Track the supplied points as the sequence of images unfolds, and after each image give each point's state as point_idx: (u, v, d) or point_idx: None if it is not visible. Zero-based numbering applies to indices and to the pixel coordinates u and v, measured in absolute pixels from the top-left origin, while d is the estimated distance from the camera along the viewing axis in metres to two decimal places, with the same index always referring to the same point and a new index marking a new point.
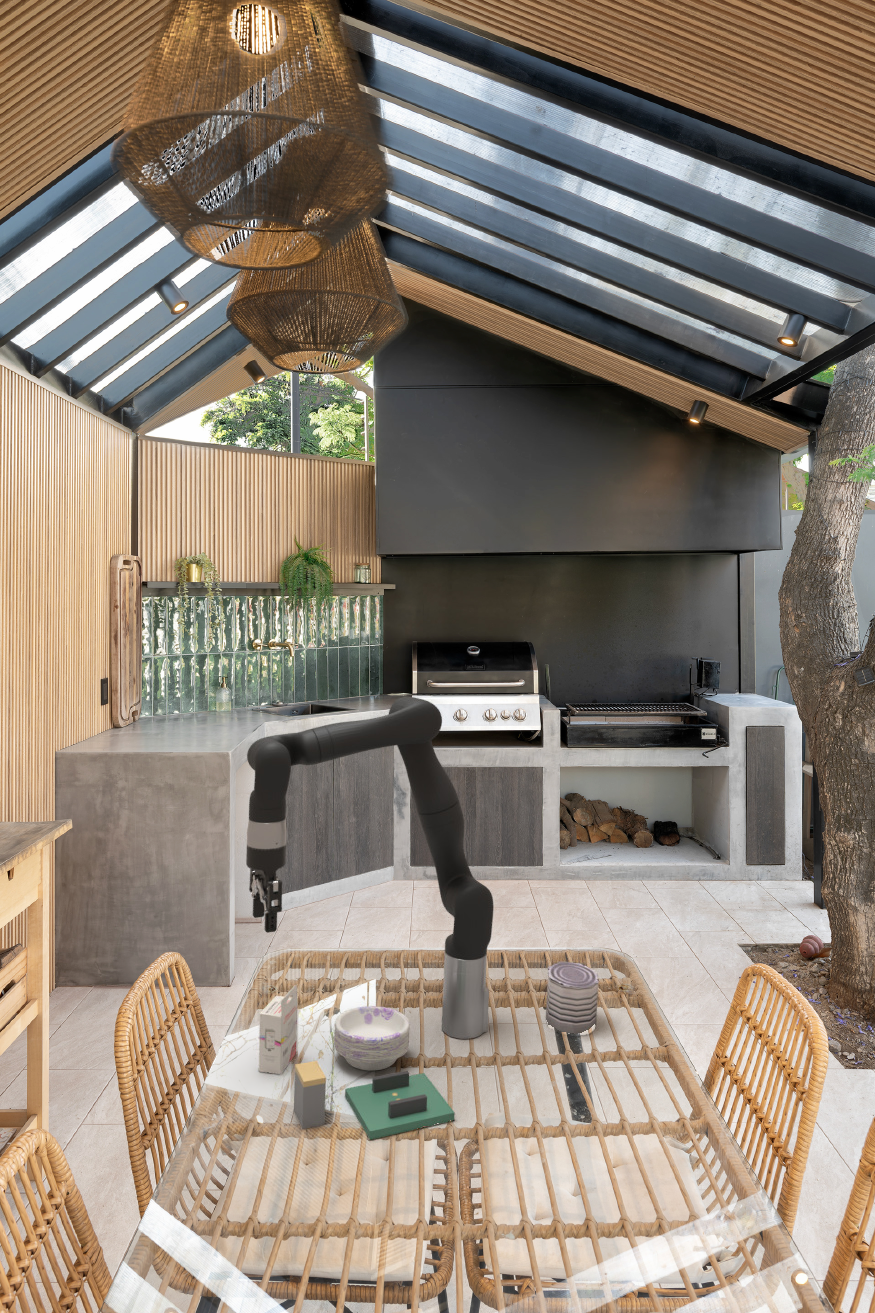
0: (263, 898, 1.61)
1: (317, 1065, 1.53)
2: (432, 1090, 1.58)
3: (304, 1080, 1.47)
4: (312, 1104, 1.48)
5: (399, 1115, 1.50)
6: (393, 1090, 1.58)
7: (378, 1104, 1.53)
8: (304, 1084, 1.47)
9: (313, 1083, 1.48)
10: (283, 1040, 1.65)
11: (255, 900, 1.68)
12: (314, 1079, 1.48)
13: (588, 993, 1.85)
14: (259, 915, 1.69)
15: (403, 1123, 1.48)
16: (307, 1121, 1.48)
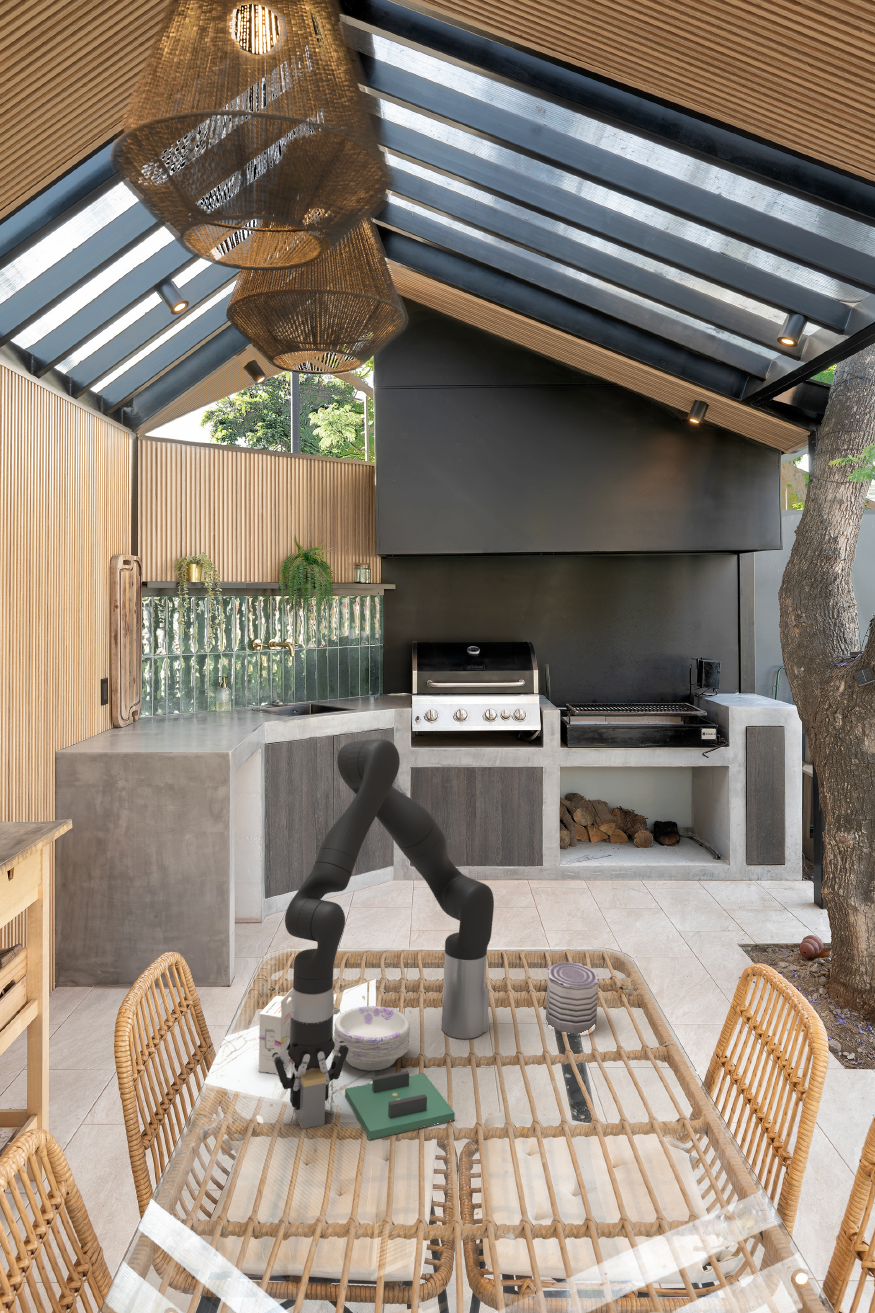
0: (327, 1070, 1.50)
1: None
2: (432, 1090, 1.58)
3: (304, 1080, 1.47)
4: (312, 1104, 1.48)
5: (399, 1115, 1.50)
6: (393, 1090, 1.58)
7: (378, 1104, 1.53)
8: (304, 1084, 1.47)
9: (313, 1083, 1.48)
10: (283, 1040, 1.65)
11: None
12: (314, 1079, 1.48)
13: (588, 993, 1.85)
14: None
15: (403, 1123, 1.48)
16: (307, 1121, 1.48)
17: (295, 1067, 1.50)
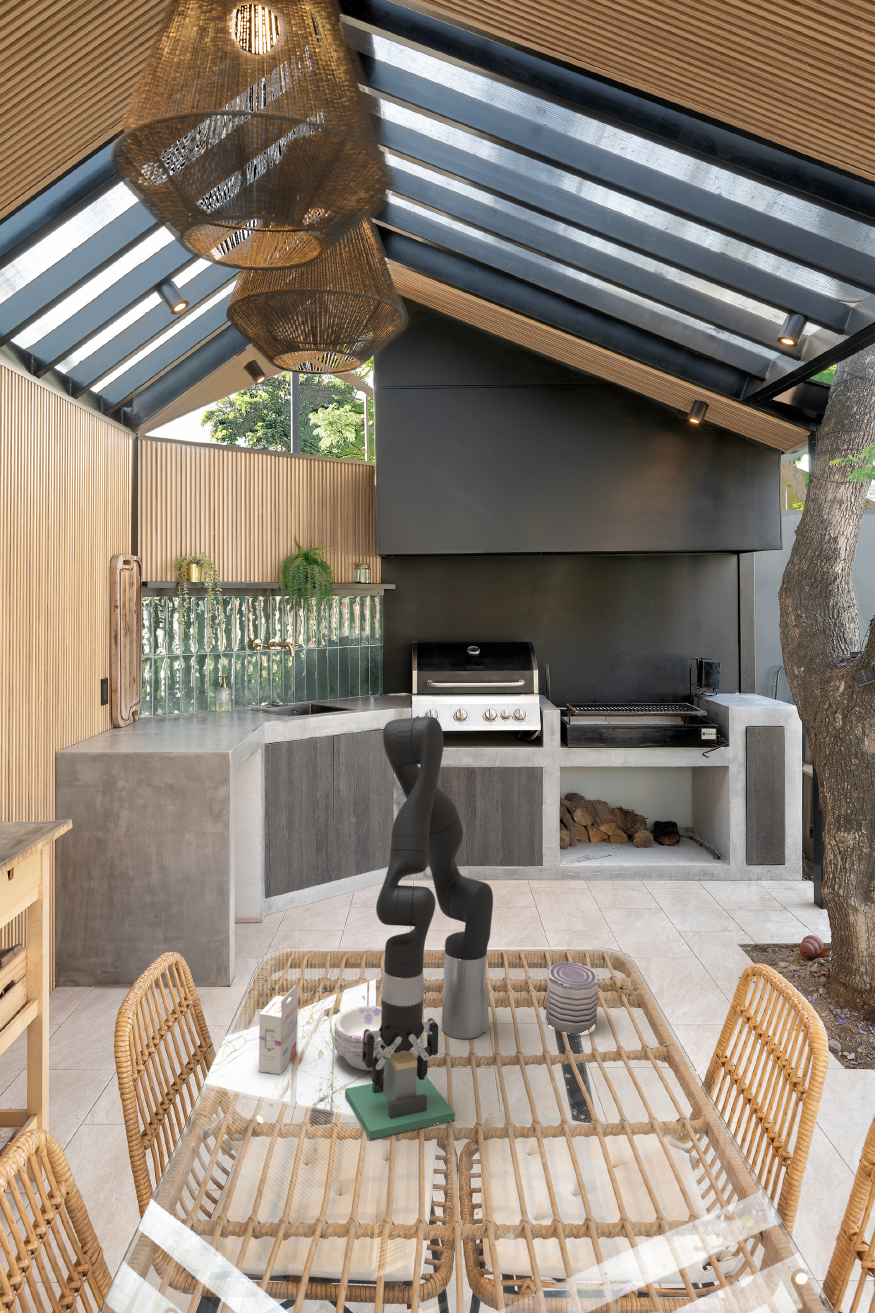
0: None
1: None
2: (432, 1090, 1.58)
3: (397, 1063, 1.51)
4: (404, 1087, 1.52)
5: (399, 1115, 1.50)
6: None
7: (378, 1104, 1.53)
8: (397, 1067, 1.51)
9: (405, 1066, 1.51)
10: (283, 1040, 1.65)
11: (382, 1069, 1.52)
12: (406, 1062, 1.52)
13: (588, 992, 1.85)
14: None
15: (403, 1123, 1.48)
16: None
17: (381, 1047, 1.53)
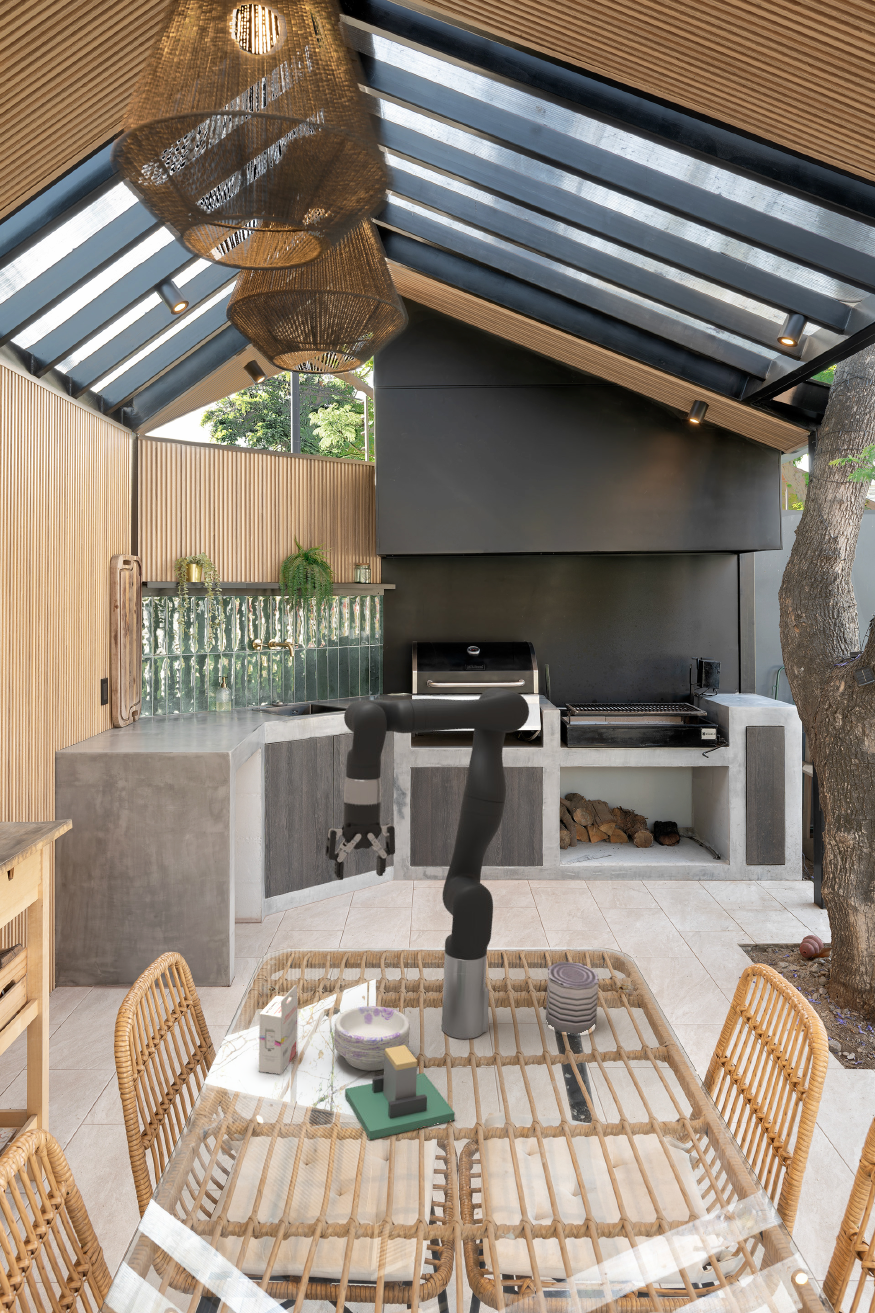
0: (381, 846, 1.74)
1: (406, 1049, 1.56)
2: (432, 1090, 1.58)
3: (397, 1063, 1.51)
4: (404, 1087, 1.52)
5: (399, 1115, 1.50)
6: None
7: (378, 1104, 1.53)
8: (397, 1067, 1.51)
9: (405, 1066, 1.51)
10: (283, 1040, 1.65)
11: None
12: (406, 1062, 1.52)
13: (588, 993, 1.85)
14: None
15: (403, 1123, 1.48)
16: None
17: (343, 845, 1.73)
